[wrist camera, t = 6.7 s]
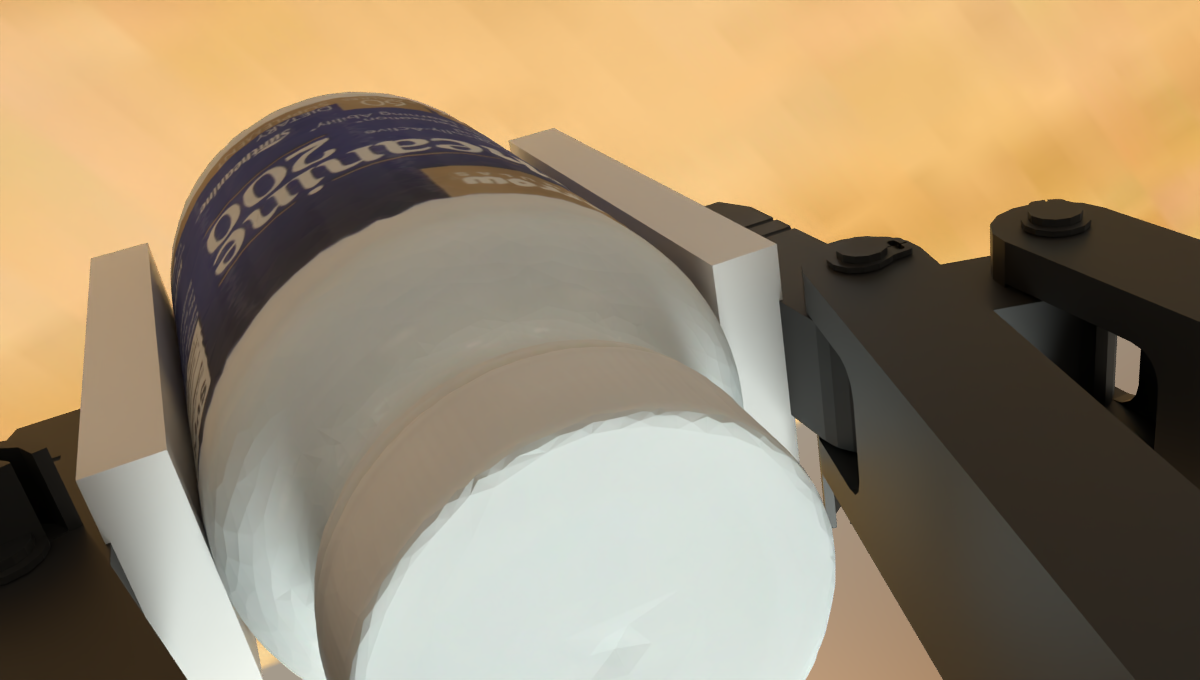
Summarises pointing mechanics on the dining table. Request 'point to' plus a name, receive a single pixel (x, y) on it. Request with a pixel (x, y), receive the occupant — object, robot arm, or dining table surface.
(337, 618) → the pill bottle
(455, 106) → the dining table surface
